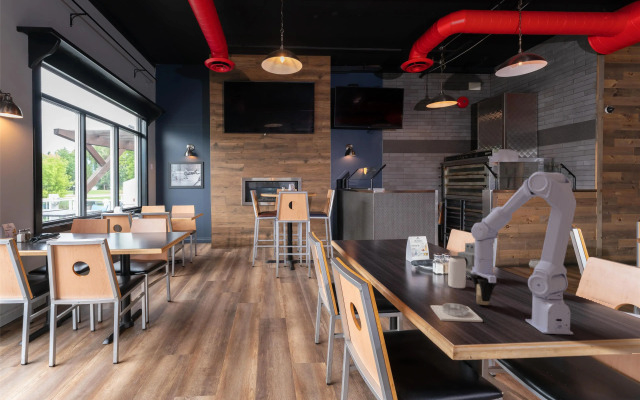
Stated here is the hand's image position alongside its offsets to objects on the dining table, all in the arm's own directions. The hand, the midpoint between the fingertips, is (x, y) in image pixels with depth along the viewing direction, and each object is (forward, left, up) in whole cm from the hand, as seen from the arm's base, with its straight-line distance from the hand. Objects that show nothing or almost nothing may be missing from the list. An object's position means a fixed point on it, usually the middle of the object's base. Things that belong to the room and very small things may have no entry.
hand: (482, 298), depth 116 cm
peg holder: (-9, +12, -2) cm, 15 cm away
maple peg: (0, 0, -1) cm, 1 cm away
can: (+23, +1, -3) cm, 23 cm away
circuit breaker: (+38, -11, -3) cm, 40 cm away
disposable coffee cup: (+17, -29, -3) cm, 34 cm away
